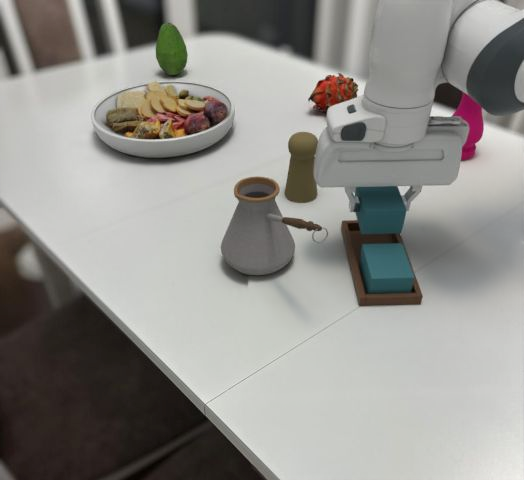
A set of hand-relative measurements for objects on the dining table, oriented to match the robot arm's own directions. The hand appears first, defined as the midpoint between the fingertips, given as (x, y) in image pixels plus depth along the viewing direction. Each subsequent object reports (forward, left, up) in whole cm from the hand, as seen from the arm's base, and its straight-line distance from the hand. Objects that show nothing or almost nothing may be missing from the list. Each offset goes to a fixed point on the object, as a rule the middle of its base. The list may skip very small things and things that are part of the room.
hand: (378, 209), depth 79 cm
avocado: (+38, -78, -8) cm, 87 cm away
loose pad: (0, 0, -2) cm, 2 cm away
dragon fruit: (0, -53, -8) cm, 53 cm away
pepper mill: (-23, -32, -8) cm, 40 cm away
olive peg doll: (+10, -18, -8) cm, 22 cm away
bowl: (+37, -45, -8) cm, 58 cm away
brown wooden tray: (0, +4, -8) cm, 9 cm away
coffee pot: (+16, +6, -8) cm, 19 cm away
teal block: (0, +9, -7) cm, 11 cm away
